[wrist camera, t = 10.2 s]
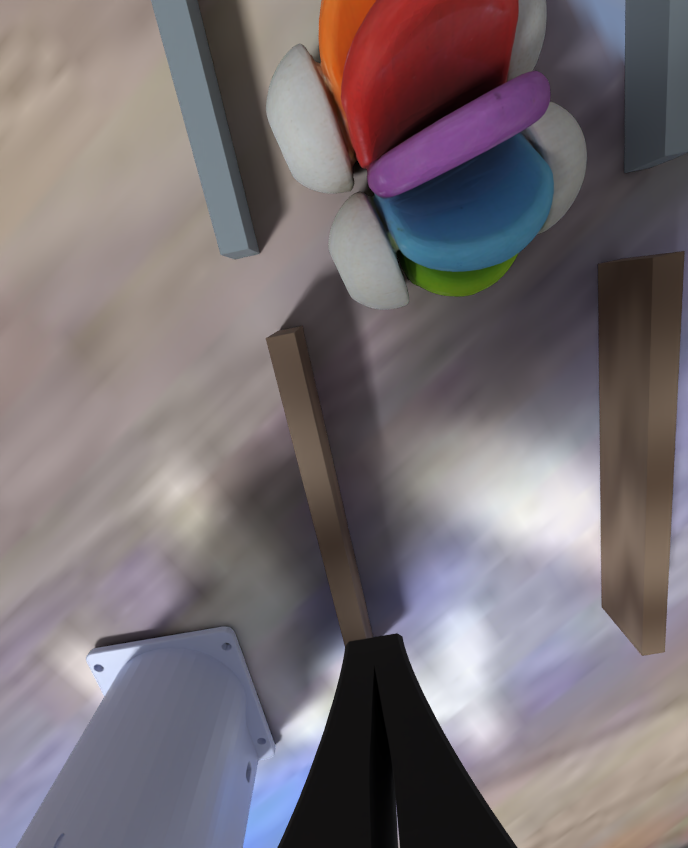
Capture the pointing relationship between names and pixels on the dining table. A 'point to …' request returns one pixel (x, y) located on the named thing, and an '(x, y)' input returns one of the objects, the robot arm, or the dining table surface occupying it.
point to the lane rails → (619, 449)
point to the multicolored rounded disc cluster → (428, 140)
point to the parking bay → (215, 157)
